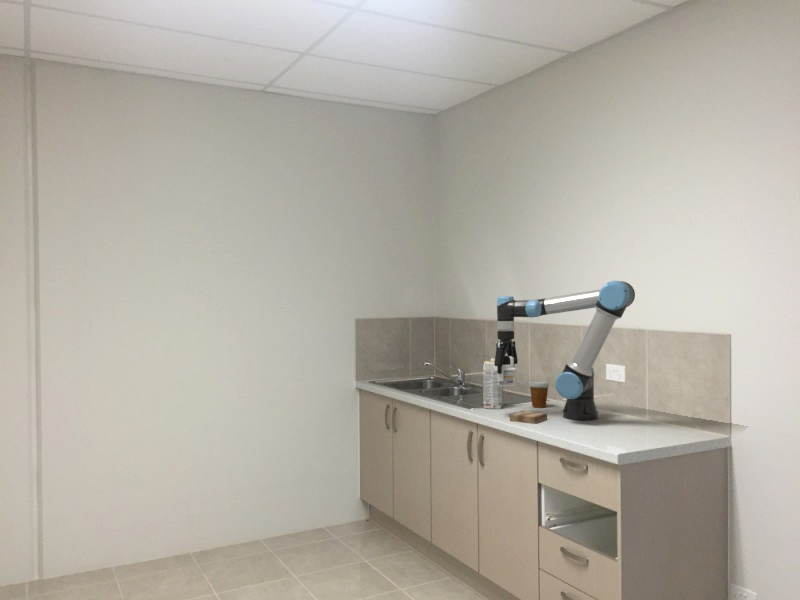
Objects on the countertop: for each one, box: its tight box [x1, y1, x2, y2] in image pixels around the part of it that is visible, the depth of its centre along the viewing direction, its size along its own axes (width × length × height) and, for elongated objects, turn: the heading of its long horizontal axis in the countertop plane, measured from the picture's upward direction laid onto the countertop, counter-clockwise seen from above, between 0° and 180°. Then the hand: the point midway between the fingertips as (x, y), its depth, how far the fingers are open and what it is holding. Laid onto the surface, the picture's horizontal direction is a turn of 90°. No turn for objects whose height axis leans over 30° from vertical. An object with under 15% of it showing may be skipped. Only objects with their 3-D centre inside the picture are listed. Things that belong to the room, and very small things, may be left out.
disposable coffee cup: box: [529, 380, 550, 409], centre depth 340 cm, size 10×10×12 cm
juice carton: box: [482, 357, 504, 410], centre depth 338 cm, size 9×8×24 cm
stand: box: [509, 410, 548, 425], centre depth 306 cm, size 12×12×3 cm
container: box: [497, 355, 517, 387], centre depth 315 cm, size 8×8×13 cm
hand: (506, 379), depth 315 cm, fingers closed on container, 10 cm apart
